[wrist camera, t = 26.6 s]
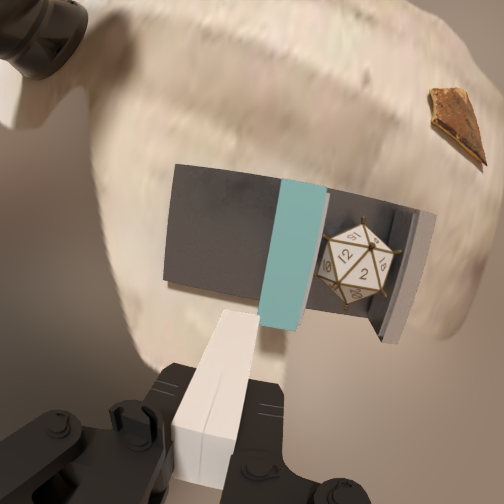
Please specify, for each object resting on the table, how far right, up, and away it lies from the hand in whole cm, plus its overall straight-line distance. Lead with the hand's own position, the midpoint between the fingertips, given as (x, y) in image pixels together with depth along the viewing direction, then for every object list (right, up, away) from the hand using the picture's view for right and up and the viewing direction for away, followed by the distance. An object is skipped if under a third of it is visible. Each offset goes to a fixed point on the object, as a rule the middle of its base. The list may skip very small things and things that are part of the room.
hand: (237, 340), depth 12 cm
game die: (+11, +3, +20) cm, 23 cm away
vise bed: (+4, +5, +22) cm, 23 cm away
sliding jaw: (+5, +4, +20) cm, 21 cm away
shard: (+28, +21, +16) cm, 38 cm away
